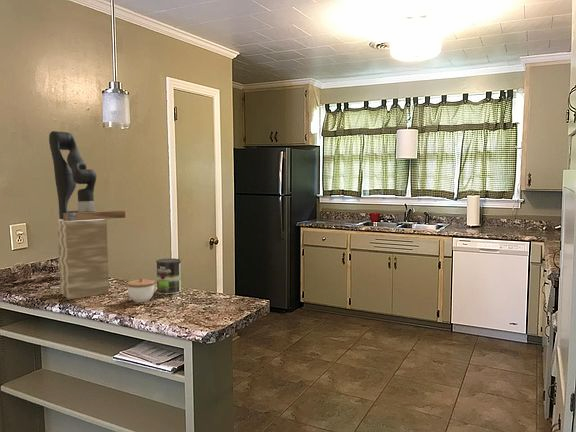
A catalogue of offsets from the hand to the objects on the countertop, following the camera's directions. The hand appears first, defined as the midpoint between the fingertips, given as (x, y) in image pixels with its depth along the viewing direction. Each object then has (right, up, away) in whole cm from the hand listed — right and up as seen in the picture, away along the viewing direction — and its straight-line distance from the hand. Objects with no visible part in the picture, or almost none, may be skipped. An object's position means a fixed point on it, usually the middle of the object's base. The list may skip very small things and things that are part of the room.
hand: (88, 243), depth 228 cm
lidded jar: (+38, -21, -37) cm, 57 cm away
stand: (+9, -20, -24) cm, 33 cm away
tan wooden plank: (+13, +12, -23) cm, 30 cm away
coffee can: (+45, -20, -23) cm, 55 cm away
